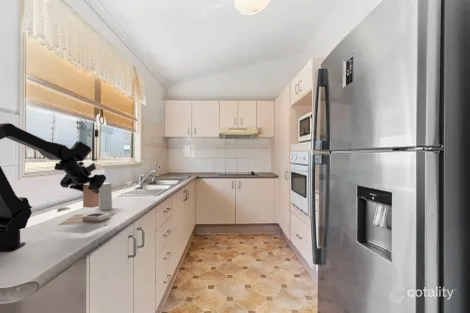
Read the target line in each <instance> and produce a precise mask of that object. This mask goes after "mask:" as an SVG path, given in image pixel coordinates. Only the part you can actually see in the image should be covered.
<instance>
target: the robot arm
mask: <svg viewBox="0 0 470 313" xmlns="http://www.w3.org/2000/svg"><path fill="white" fill-rule="evenodd" d="M5 138H6V139H8V140H11V141H14V142H16V143H17V144H20V145H23V146H26V147H28V148H31V149H32V150H35V151H37V152H39V153H40V155H41V156H42V157H44V158H46V159H48V160H51V161H59V162H56V163H55V165H54V171H63V172H64V173H65V175H64V176H63V178H62V179H61V180H60V181H59V185H60V187H61V188H64V189H65V188H67V189H68V188H69V189H72V190H74V191H75V190H76V191H79V192H82V193H83V185H84V184H89V188H88V189H89V190H91V191H93V192H95V193H97V194H98V193H99V188H101V186H102V184H103V183H105V182H106V180H107V176H106V175H105V174H100V173H99V174H94V175H93V176H91V175H92V172H93V171H95V170H97V167H96V164H95V162H94V161H86V162H84V161H85V159H86V158H87V157H88V156H89V154H91V152H92V148H91V147H90V146H89V145H87V144H86V143H83V142H82V141H81V140H80V141H76V142H75V143H74V144H73V145H72V146H71V148H70V147H68V145H65V144H61V143H58V142H53V141H48V140H46V139H43V138H41V137H40V136H37V135H34V134H33V133H30V132H28V131H26V130H24V129H22V128H19V127H18V126H16V125H14V124H13V123H8V122H5V123H0V140H4V139H5ZM32 209H33V207H32V206H31V205H30V202H29V200H28V198H27V197H22V196H18V195H17V194H16V192H15V191H14V189H13V187H12V185H11V183H10V180H8V177H7V176H6V174H5V172H4V170H3V168H2V166H1V165H0V252H1V253H2V252H13V251H16V250H17V249H20V248H21V247H23V246H24V245H26V242H24V241H23V242H21V230H24V229H26V227H27V225H28V222H29V219H30V218H31V217H32V216H31V215H32V214H33V212H32Z"/></svg>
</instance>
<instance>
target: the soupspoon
mask: <svg viewBox="0 0 470 313" xmlns="http://www.w3.org/2000/svg"><path fill="white" fill-rule="evenodd" d="M67 210H71V207H67V206H63V207H60V208H58V209H56V211H59V212H63V211H67Z"/></svg>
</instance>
